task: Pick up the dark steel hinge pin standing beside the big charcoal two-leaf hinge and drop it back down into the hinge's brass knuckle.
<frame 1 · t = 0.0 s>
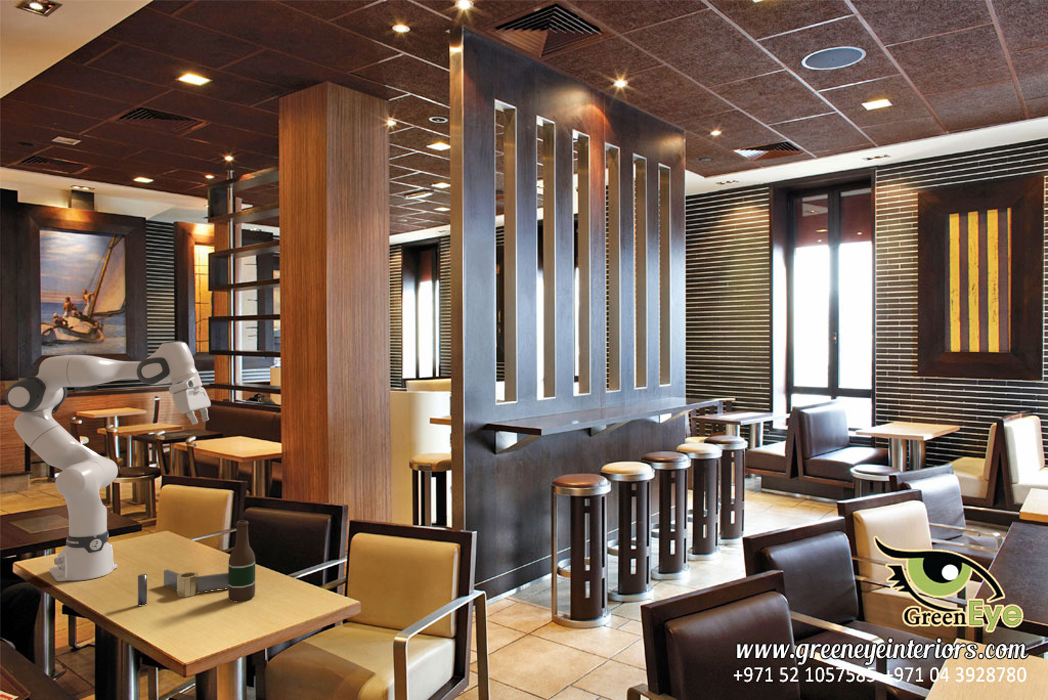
hand: (200, 422, 239), 52 cm above the table, tool tilted 20°, fingers open, 8 cm apart
beer bottle: (241, 598, 214), on the table
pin: (142, 604, 208), on the table
hinge: (187, 593, 218), on the table
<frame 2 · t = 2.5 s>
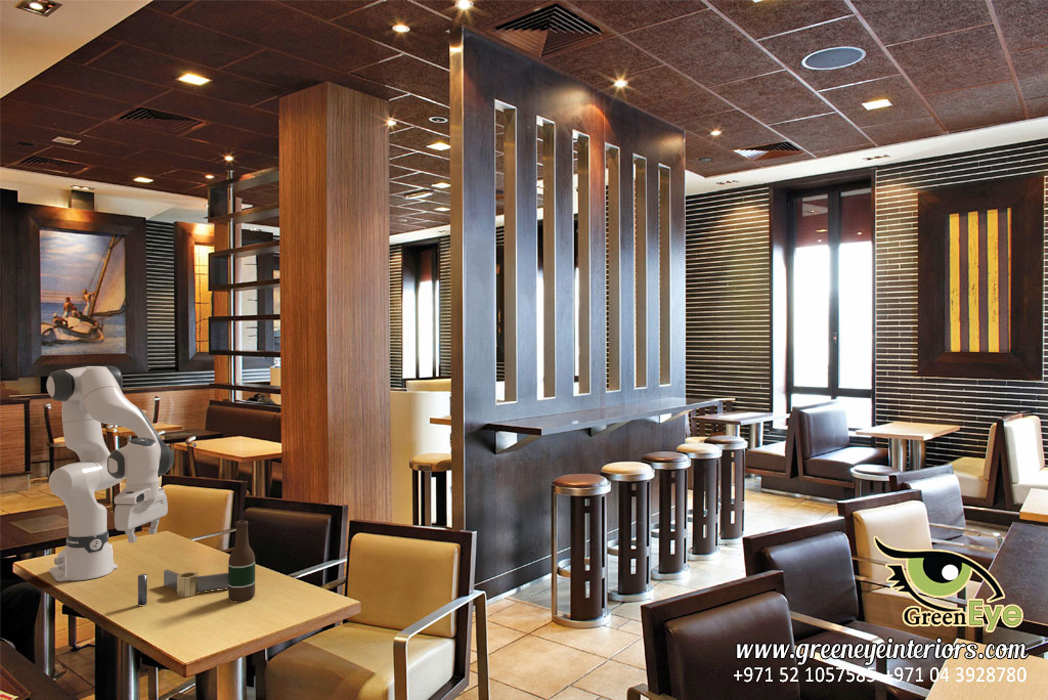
hand: (142, 537, 208), 20 cm above the table, tool pointing down, fingers open, 8 cm apart
nothing on the table moved.
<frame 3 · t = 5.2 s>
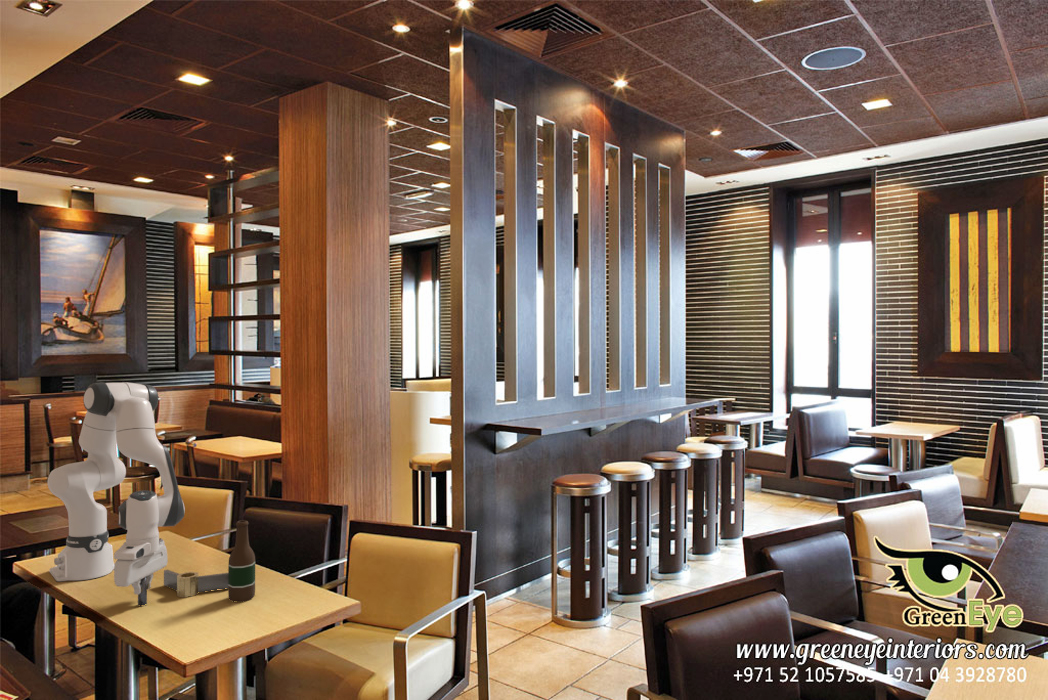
hand: (142, 591, 208), 4 cm above the table, tool pointing down, fingers closed on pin, 2 cm apart
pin: (142, 604, 208), on the table, touching gripper
everything else where it was.
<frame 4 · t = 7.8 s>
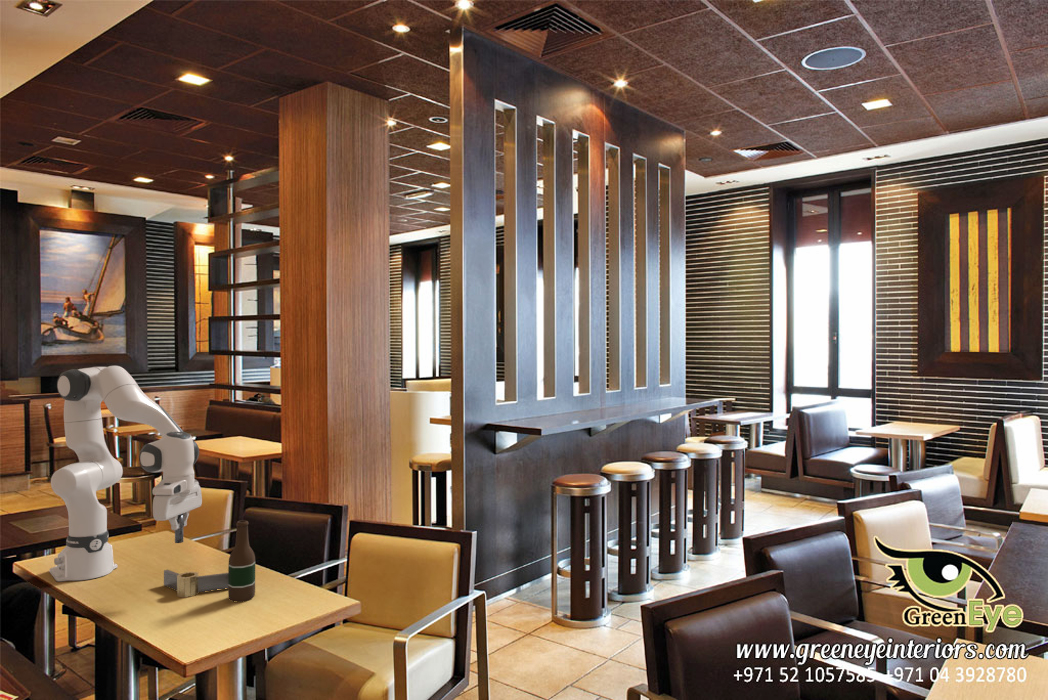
hand: (179, 528, 216), 21 cm above the table, tool pointing down, fingers closed on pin, 2 cm apart
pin: (179, 542, 215), point 17 cm above the table, touching gripper
everything else where it was.
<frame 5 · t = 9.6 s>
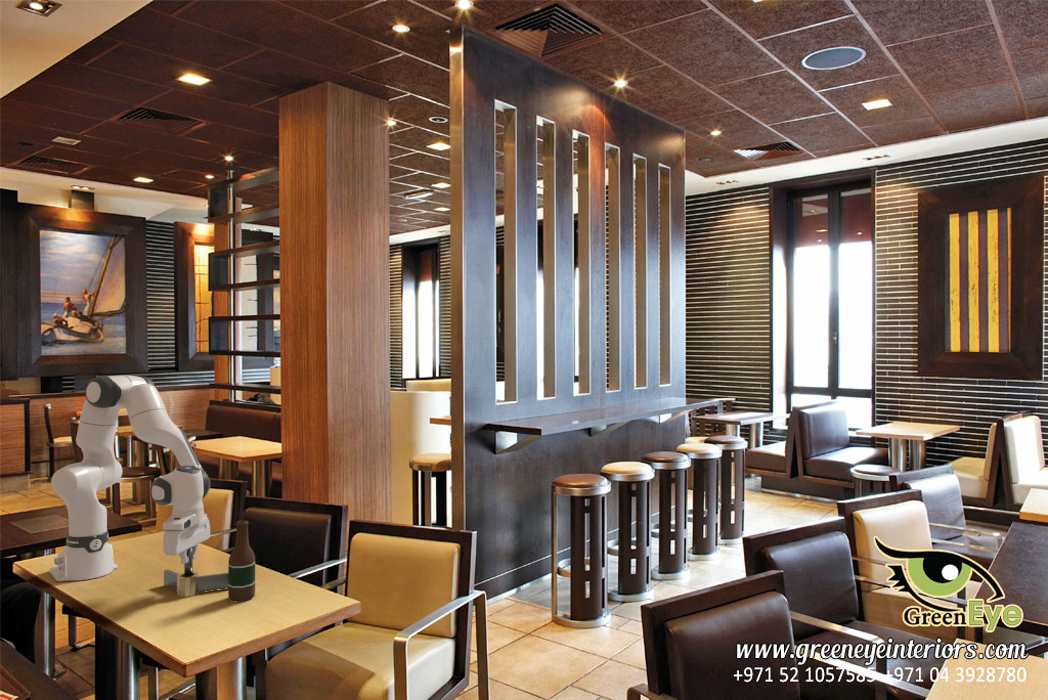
hand: (188, 561, 218), 10 cm above the table, tool pointing down, fingers closed on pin, 2 cm apart
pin: (188, 575, 218), point 6 cm above the table, touching gripper
everything else where it was.
when the fingers open (7 cm above the table, at t = 10.8 s): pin drops 3 cm, resting in hinge.
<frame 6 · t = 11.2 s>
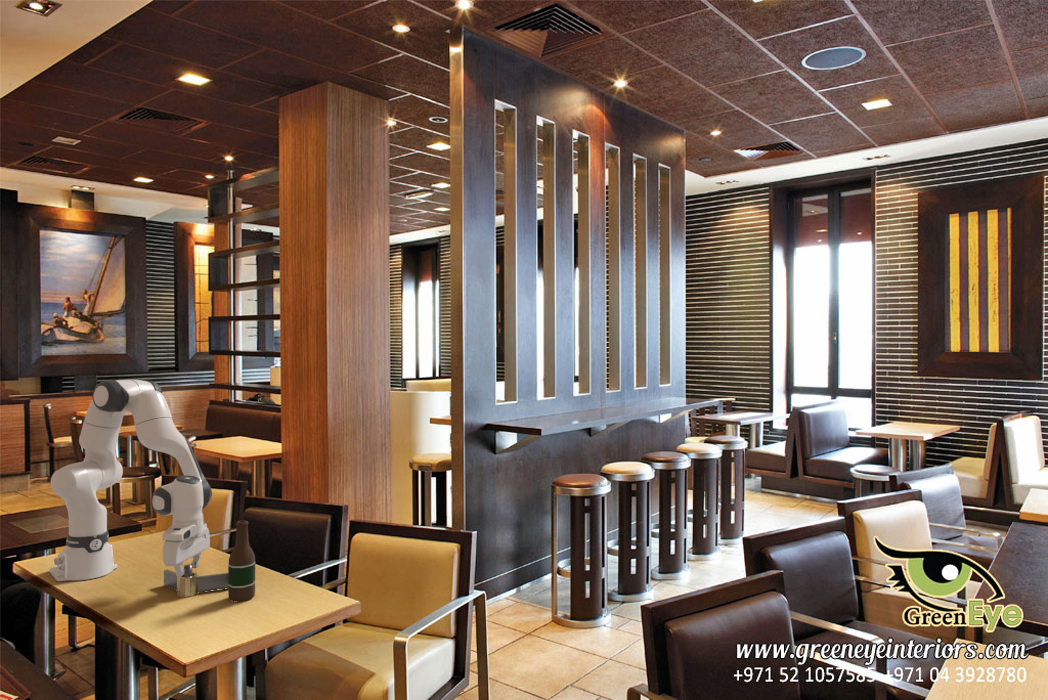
hand: (187, 571, 218), 7 cm above the table, tool pointing down, fingers open, 7 cm apart
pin: (188, 593, 218), resting in hinge
everything else where it was.
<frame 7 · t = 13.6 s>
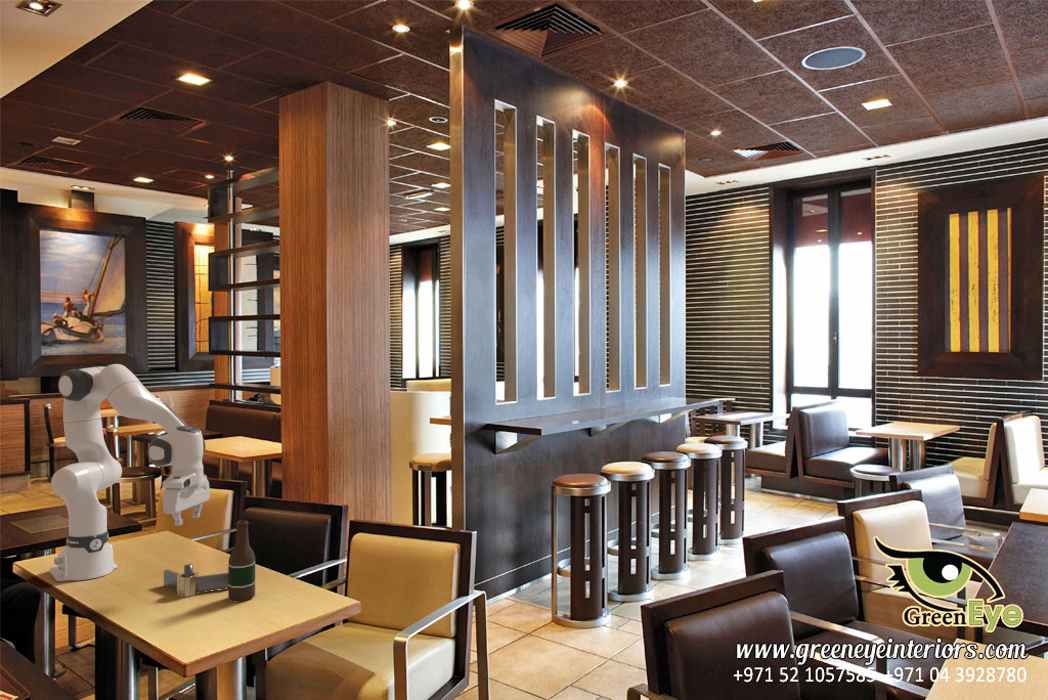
hand: (187, 521, 218), 23 cm above the table, tool pointing down, fingers open, 8 cm apart
nothing on the table moved.
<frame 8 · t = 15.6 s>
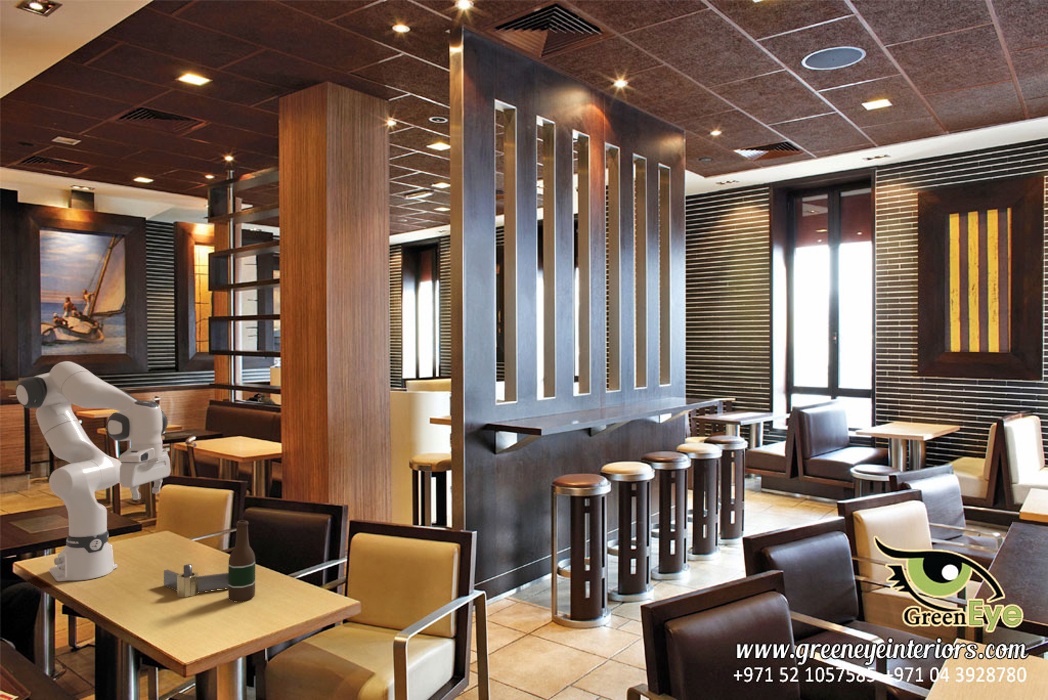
hand: (146, 496, 217), 31 cm above the table, tool pointing down, fingers open, 8 cm apart
nothing on the table moved.
at the end: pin 0.1 cm from the hinge (horizontally); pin resting in hinge; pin tilted 1° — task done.
